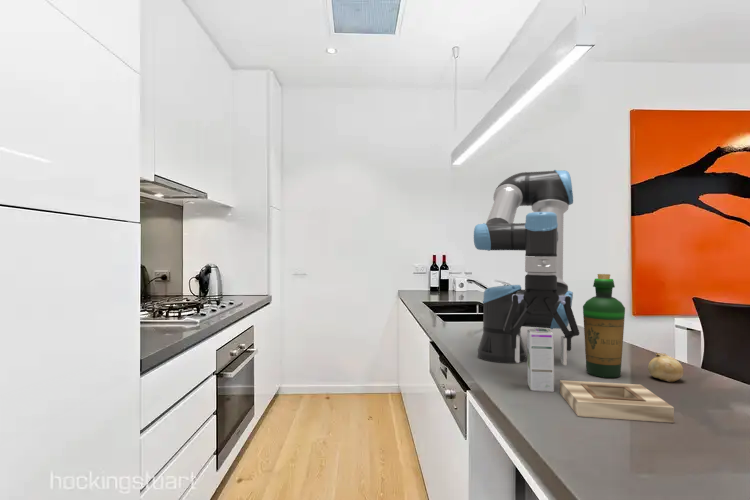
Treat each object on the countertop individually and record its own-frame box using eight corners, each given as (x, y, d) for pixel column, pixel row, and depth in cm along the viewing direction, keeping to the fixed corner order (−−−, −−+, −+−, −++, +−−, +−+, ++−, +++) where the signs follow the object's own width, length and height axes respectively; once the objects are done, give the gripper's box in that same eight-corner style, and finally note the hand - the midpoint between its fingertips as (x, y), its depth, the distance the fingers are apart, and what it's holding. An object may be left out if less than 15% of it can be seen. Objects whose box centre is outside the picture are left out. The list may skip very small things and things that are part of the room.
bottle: (584, 377, 122) (585, 274, 122) (580, 368, 132) (580, 273, 132) (629, 381, 119) (629, 275, 119) (621, 371, 129) (621, 273, 129)
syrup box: (554, 392, 109) (555, 332, 109) (529, 390, 110) (529, 331, 110) (550, 385, 114) (550, 328, 114) (526, 384, 115) (526, 327, 116)
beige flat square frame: (559, 392, 108) (559, 379, 108) (640, 397, 105) (640, 383, 105) (578, 416, 93) (578, 400, 93) (673, 422, 90) (673, 406, 90)
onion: (680, 378, 123) (680, 352, 123) (686, 385, 116) (686, 358, 116) (646, 374, 126) (646, 349, 126) (650, 381, 119) (650, 354, 119)
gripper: (494, 273, 111) (494, 363, 110) (594, 275, 107) (594, 368, 106) (492, 272, 118) (491, 356, 118) (585, 274, 114) (584, 361, 114)
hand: (540, 362), depth 112 cm, fingers open, 10 cm apart
